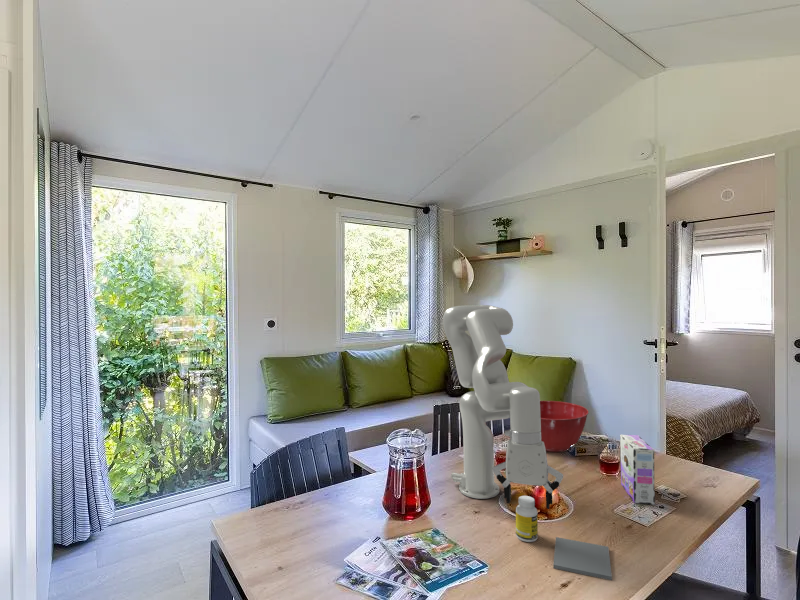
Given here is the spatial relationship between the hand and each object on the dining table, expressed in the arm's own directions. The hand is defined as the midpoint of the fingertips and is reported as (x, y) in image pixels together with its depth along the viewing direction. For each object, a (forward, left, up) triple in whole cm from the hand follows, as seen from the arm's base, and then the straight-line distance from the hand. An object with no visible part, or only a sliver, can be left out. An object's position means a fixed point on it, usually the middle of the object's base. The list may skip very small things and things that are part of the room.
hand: (528, 503), depth 111 cm
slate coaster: (+12, -4, -9) cm, 16 cm away
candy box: (+28, +37, -9) cm, 47 cm away
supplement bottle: (-1, +1, -9) cm, 9 cm away
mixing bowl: (+1, +72, -9) cm, 72 cm away
